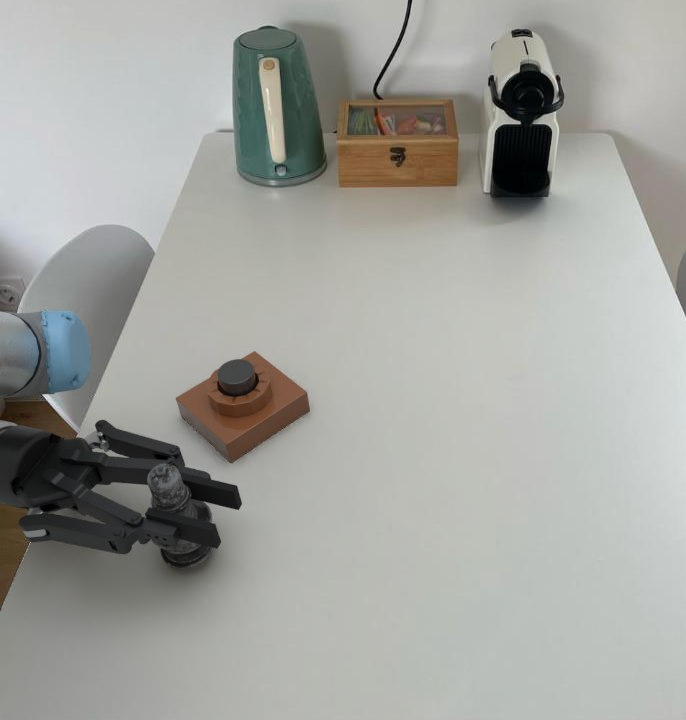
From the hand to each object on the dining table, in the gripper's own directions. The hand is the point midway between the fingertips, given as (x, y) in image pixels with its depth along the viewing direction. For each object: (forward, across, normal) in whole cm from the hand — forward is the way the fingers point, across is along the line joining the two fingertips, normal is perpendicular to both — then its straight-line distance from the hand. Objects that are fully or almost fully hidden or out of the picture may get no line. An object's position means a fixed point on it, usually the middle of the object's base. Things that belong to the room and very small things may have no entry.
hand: (226, 516), depth 72 cm
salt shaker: (-5, 0, -7) cm, 9 cm away
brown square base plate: (-9, -19, -8) cm, 22 cm away
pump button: (-9, -19, -4) cm, 21 cm away
